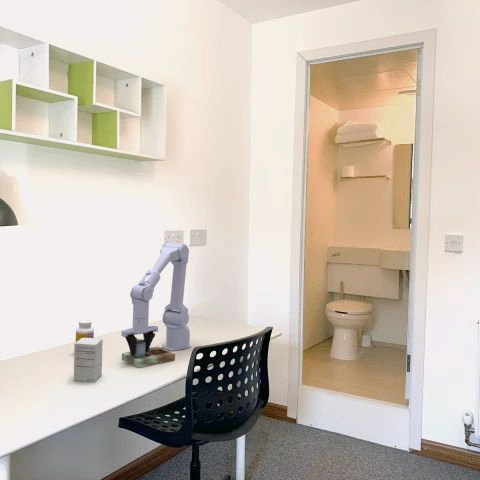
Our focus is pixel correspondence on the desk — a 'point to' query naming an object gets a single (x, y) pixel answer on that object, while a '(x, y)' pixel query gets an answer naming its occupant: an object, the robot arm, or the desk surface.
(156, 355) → the rack
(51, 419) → the desk surface
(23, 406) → the desk surface
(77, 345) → the supplement box
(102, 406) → the desk surface
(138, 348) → the tube
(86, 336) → the supplement bottle
